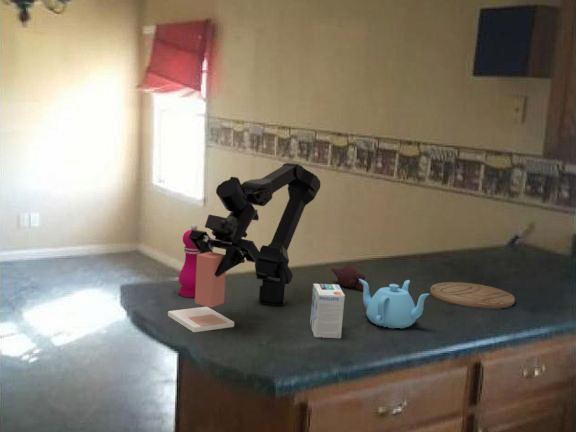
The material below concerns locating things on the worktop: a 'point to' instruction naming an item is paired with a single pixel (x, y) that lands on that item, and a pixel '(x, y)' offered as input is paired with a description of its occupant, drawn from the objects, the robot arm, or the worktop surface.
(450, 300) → the trivet
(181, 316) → the board
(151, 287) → the worktop surface
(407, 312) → the teapot
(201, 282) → the block
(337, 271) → the maroon lumpy piece
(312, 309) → the light bulb box
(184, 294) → the pepper mill
